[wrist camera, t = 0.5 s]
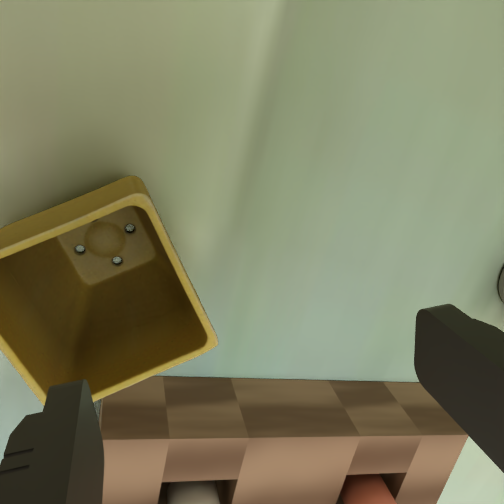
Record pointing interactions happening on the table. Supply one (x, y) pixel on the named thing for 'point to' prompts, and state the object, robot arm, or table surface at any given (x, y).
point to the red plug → (365, 490)
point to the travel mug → (501, 286)
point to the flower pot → (97, 294)
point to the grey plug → (192, 492)
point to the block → (275, 439)
